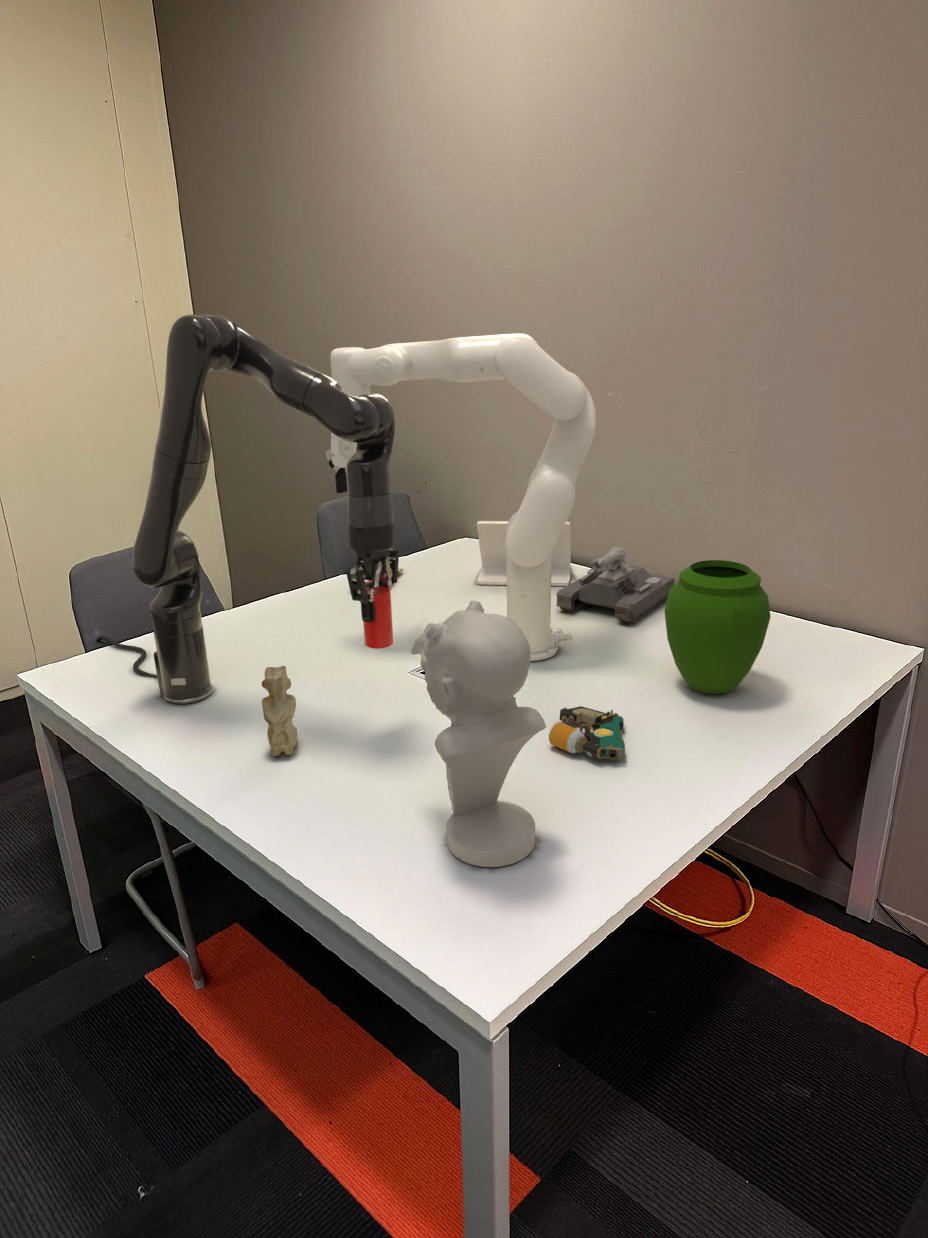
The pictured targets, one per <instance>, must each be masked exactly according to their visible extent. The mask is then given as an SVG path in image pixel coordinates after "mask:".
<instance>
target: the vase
mask: <svg viewBox="0 0 928 1238" xmlns="http://www.w3.org/2000/svg"><path fill="white" fill-rule="evenodd" d="M761 582H762V577H761V576H760V575H759V574H758V573H757V572H755V571H754V570H753V569H752V568H751V567H750V566H748V565H746V564H743V563H741V562H737V561H732V560H723V559H722V560H721V559H710V560H709V559H708V560H707V559H706V560H701V561H696V562H694V563H692V564H690V565H689V566H687V567H685V568H684V569H681V570H680V572H679V574H678V580H677V582H675V583H674V586H673V587H672V588H671V589H670V591H669V595H668V598H667V600H666V601H665V604H664V605H665V606H664V619H665V620H664V621H665V628H666V637H667V638H666V639H667V642H668V645H669V649H670V651H671V655H672V658H673V661H674V664H675V666H676V668H677V670H678V671H679V674H680V675H681V677H682V678H683V680H684V682H686V683H687V685H688V687H690V688H692V689H693V690H695V691H697V692H699V693H702V694H708V695H720V694H725V693H729V692H731V691H732V690H734V688H736V687H737V686H738V685H740V683H742V681H743V680H744V679H745V678H746V676H747V675H748V674H749V673H750V671H751V669H752V667H753V665H754V664H755V662H756V660H757V658H758V656H759V654H760V652H761V650H762V648H763V645H764V642H765V638H766V635H767V632H768V629H769V624H770V621H771V617H772V616H771V609H770V602H769V601H770V600H769V596H768V593H767V592H766V591H765V590H764V588H763V587H762V586H761Z"/></svg>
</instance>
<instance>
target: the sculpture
mask: <svg viewBox="0 0 928 1238" xmlns="http://www.w3.org/2000/svg"><path fill="white" fill-rule="evenodd" d="M261 687H262V688H263V689H265V690H266V692H268V695H267V696H265V697H262V698H261V707H262V711H263V712H262V713H263V719H264V721H265V722H266V723H267V724H268V727H267V731H266V732H267V733H266V734H267V735H266V736H267V739H268V743H269V747H270V750H271V754H272V756H273V757H275V756H276V757H277V756H278V757H279V756H281V753H282V752H284V754H285V755H286V756H288V755H292V754H293V753H294V747H295V746H296V745H297V741H298V729H297V728H296V726H295V725H294V724H293V718H294V716H295V713H296V707H297V699H296V697H295V696H294V695H293V694H289V693H287V691H289V689H291V687H292V680H291V679H290V678H289V677H288V673H287V667H286V665H282V666H278V667H274V666H267V667H266V668H265V670H264V679H263V680H262V681H261Z"/></svg>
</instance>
